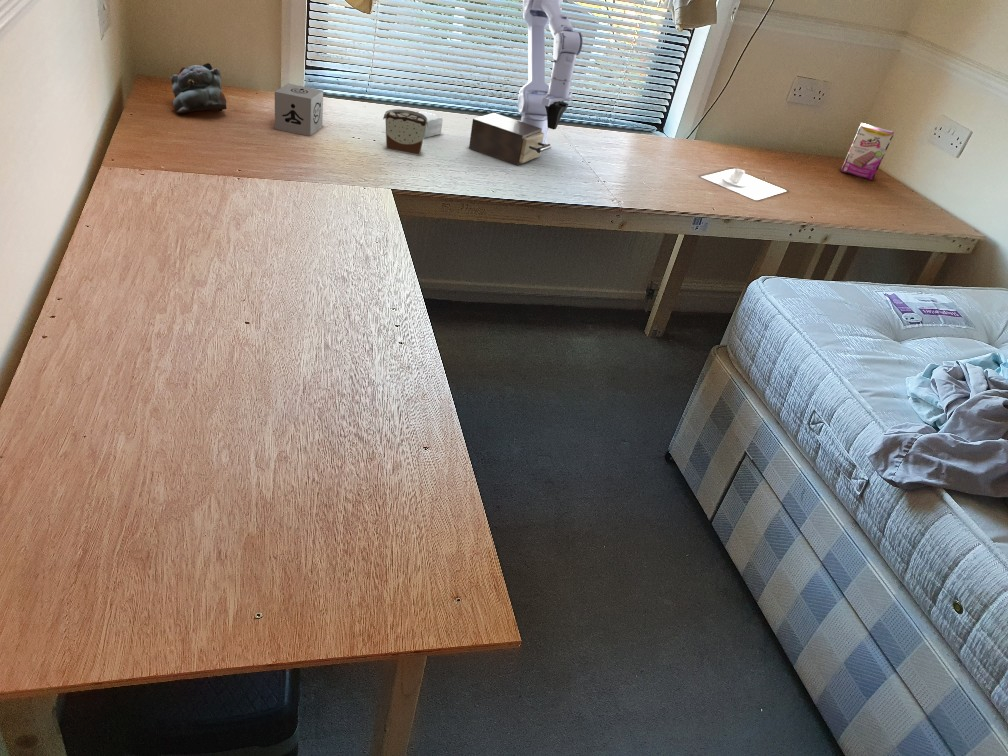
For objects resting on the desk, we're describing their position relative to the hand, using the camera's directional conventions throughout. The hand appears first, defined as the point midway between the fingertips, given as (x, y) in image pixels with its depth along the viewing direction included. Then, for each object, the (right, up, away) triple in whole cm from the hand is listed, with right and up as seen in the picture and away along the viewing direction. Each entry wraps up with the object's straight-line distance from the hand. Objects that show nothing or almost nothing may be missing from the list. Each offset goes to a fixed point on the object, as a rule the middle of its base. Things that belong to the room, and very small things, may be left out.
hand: (551, 128), depth 216 cm
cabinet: (-14, -5, +8) cm, 17 cm away
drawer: (-11, -5, +6) cm, 13 cm away
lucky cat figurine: (-98, +3, -5) cm, 99 cm away
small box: (-38, +3, +12) cm, 40 cm away
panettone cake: (-41, -7, -3) cm, 42 cm away
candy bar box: (+110, 0, +51) cm, 121 cm away
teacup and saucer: (+61, -11, +21) cm, 65 cm away
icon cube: (-71, -1, -2) cm, 71 cm away
